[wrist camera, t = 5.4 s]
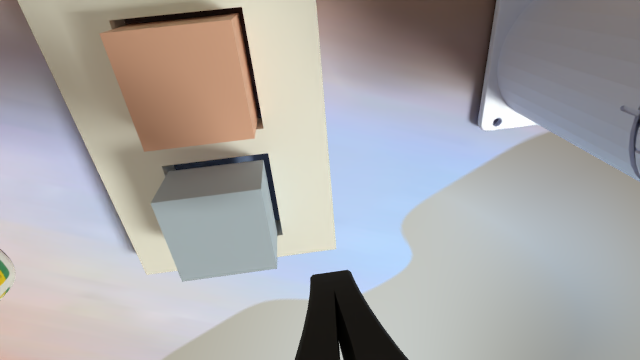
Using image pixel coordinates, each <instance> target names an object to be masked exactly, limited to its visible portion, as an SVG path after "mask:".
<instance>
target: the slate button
mask: <svg viewBox="0 0 640 360" xmlns="http://www.w3.org/2000/svg"><path fill="white" fill-rule="evenodd" d="M151 206H152V208H153V211H154V213H155V216H156V218H157V221H158V223H159V225H160V228H161V230H162V233H163V235H164V238H165V240H166V243H167V245H168V248H169V250H170V253H171V255H172V258H173V260H174V262H175V265H176V267H177V270H178V272H179V275H180V277H181V280H182V282H183V281H190V280H197V279H204V278H212V277H219V276H226V275H233V274H241V273H248V272H255V271H262V270H270V269H277V229H276V223H275V218H274V213H273V208H272V202H271V197H270V192H269V187H268V181H267V176H266V171H265V165H264V160H257V161H249V162H241V163H233V164H225V165H216V166H208V167H200V168H192V169H184V170H176V171H168V173H167V175H166V177H165V178H164V180H163V182H162V184H161V186H160V187H159V189H158V191H157V193H156V194H155V196H154V198H153V200H152V201H151Z"/></svg>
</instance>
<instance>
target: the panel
mask: <svg viewBox="0 0 640 360" xmlns="http://www.w3.org/2000/svg"><path fill="white" fill-rule="evenodd" d="M17 1H18V3H19V5H20V7H21V9H22V11H23V14H24V16H25V18H26V20H27V22H28V24H29V26H30V28H31V30H32V33H33V35H34V37H35V39H36V41H37V43H38V45H39V47H40V50H41V52H42V54H43V56H44V58H45V60H46V62H47V64H48V67H49V69H50V71H51V73H52V75H53V77H54V79H55V81H56V83H57V86H58V88H59V90H60V92H61V94H62V96H63V98H64V100H65V103H66V105H67V107H68V109H69V111H70V113H71V115H72V117H73V120H74V122H75V124H76V126H77V128H78V130H79V132H80V134H81V136H82V139H83V141H84V143H85V145H86V147H87V149H88V151H89V153H90V156H91V158H92V160H93V162H94V164H95V166H96V168H97V170H98V173H99V175H100V177H101V179H102V181H103V183H104V185H105V187H106V189H107V192H108V194H109V196H110V198H111V200H112V202H113V204H114V206H115V209H116V211H117V213H118V215H119V217H120V219H121V221H122V223H123V226H124V228H125V230H126V232H127V234H128V236H129V238H130V240H131V242H132V245H133V247H134V249H135V251H136V253H137V255H138V257H139V259H140V262H141V264H142V266H143V268H144V270H145V272H146V274H147V275H149V274H156V273H163V272H171V271H178V270H177V267H176V265H175V262H174V260H173V258H172V255H171V253H170V250H169V248H168V245H167V243H166V240H165V238H164V235H163V233H162V230H161V228H160V225H159V223H158V221H157V218H156V216H155V213H154V211H153V208H152V206H151V201H152V200H153V198H154V196H155V194H156V193H157V191H158V189H159V187H160V186H161V184H162V182H163V180H164V178H165V177H166V175H167V173H168V171H176V170H175V167H174V165H176V164H184V163H192V162H200V161H208V160H216V159H225V158H233V157H241V156H249V155H257V154H265V153H268V155H269V161H270V166H271V172H272V177H273V183H274V188H275V194H276V199H277V205H278V211H279V216H280V220H275V223H276V229H277V257H281V256H288V255H295V254H303V253H310V252H317V251H325V250H332V249H336V240H335V228H334V216H333V203H332V191H331V179H330V167H329V154H328V142H327V130H326V117H325V105H324V93H323V80H322V68H321V56H320V44H319V31H318V19H317V7H316V0H17ZM235 7H242V10H243V16H244V21H245V27H246V33H247V38H248V44H249V49H250V55H251V60H252V66H253V72H254V77H255V83H256V88H257V94H258V99H259V105H260V110H261V116H262V118H258V119H257V126H256V133H255V139H246V140H238V141H230V142H221V143H213V144H205V145H197V146H188V147H180V148H172V149H163V150H155V151H147V152H144V150H143V147H142V144H141V142H140V139H139V137H138V134H137V131H136V129H135V126H134V123H133V121H132V118H131V116H130V113H129V110H128V108H127V105H126V102H125V100H124V97H123V95H122V92H121V89H120V87H119V84H118V81H117V79H116V76H115V74H114V71H113V68H112V66H111V63H110V60H109V58H108V55H107V53H106V50H105V47H104V45H103V42H102V39H101V37H100V34H99V33H103V32H106V31H109V30H112V29H115V28H119V27H122V26H125V25H126V23H125V20H124V19H128V18H138V17H148V16H158V15H167V14H177V13H187V12H197V11H206V10H216V9H226V8H235Z"/></svg>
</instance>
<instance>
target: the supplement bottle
mask: <svg viewBox="0 0 640 360" xmlns="http://www.w3.org/2000/svg"><path fill="white" fill-rule="evenodd" d="M14 280H15V269H14V266H13V264H12V262H11V261H10V259H9V258H8V257H7V256H6V255H5V254H4V253H3V252H2V251H1V250H0V300H1V299H2V298H3V297H4V295H5V294H6V293H7V292H8V291H9V289H10V288H11V287H12V285H13V283H14Z"/></svg>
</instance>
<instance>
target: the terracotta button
mask: <svg viewBox="0 0 640 360" xmlns="http://www.w3.org/2000/svg"><path fill="white" fill-rule="evenodd" d="M99 34H100V37H101V39H102V42H103V45H104V47H105V50H106V53H107V55H108V58H109V60H110V63H111V66H112V68H113V71H114V74H115V76H116V79H117V81H118V84H119V87H120V89H121V92H122V95H123V97H124V100H125V102H126V105H127V108H128V110H129V113H130V116H131V118H132V121H133V123H134V126H135V129H136V131H137V134H138V137H139V139H140V142H141V144H142V147H143V150H144V152H147V151H155V150H163V149H172V148H180V147H188V146H197V145H205V144H213V143H221V142H230V141H238V140H246V139H255V133H256V126H257V119H258V114H257V108H256V103H255V97H254V92H253V87H252V81H251V76H250V71H249V65H248V60H247V54H246V49H245V44H244V38H243V33H242V27H241V22H240V17H239V13H234V14H224V15H215V16H205V17H195V18H186V19H176V20H166V21H157V22H147V23H137V24H128V25H125V26H122V27H119V28H115V29H112V30H109V31H106V32H103V33H99Z"/></svg>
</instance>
